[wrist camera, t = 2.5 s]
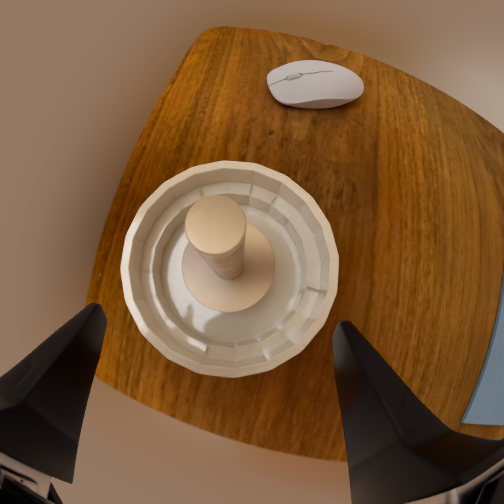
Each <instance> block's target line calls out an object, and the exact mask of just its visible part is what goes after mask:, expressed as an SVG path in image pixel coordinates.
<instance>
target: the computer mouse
mask: <svg viewBox="0 0 504 504" xmlns="http://www.w3.org/2000/svg"><path fill="white" fill-rule="evenodd" d="M267 83H268V87H269V89H270V91H271V93H272V95H273V96H274V98H275V99H276V100H277V101H279V102H280V103H282V104H285V105H289V106H293V107H299V108H332V107H337V106H340V105H343V104H346V103H348V102H351V101H353V100H355V99H357V98H358V97H360V96H361V94H362V92H363V89H364V86H363V82H362V80H361V79H360V77H359V76H357V75H356V74H355V73H353V72H352V71H350V70H348V69H347V68H344V67H342V66H339V65H336V64H333V63H329V62H323V61H316V60H303V61H297V62H292V63H289V64H286V65H283V66H281V67H278V68H276V69H274V70H273V71H271V72H270V73H269V74H268V76H267Z"/></svg>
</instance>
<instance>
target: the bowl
mask: <svg viewBox="0 0 504 504" xmlns="http://www.w3.org/2000/svg"><path fill="white" fill-rule="evenodd" d="M213 195H219V196H225V197H228V198H230V199H232V200H234V201H235V202H236V203H237V204H238V205H239V206H240V207H241V208H242V210H243V212H244V214H245V217H246V223H248V224H250V225H252V226H253V227H255V228H256V229H258V230H259V231H260V232H261V233H262V234H263V235H264V236H265V237H266V239H267V240H268V242H269V243H270V245H271V247H272V250H273V253H274V257H275V274H274V279H273V281H272V284H271V286H270V288H269V290H268V291H267V293H266V294H265V295H264V297H263V298H262V299H261V300H260V301H258V302H257V303H256V304H254V305H253V306H251V307H249V308H247V309H245V310H242V311H237V312H219V311H215V310H212V309H209V308H207V307H206V306H204V305H202V304H201V303H199V302H198V301H197V300H196V299H195V298H194V297H193V296H192V294H191V293H190V292H189V290H188V288H187V287H186V284H185V282H184V279H183V275H182V257H183V253H184V250H185V248H186V246H187V244H188V242H189V241H188V239H187V237H186V233H185V219H186V216H187V213H188V211H189V210H190V208H191V207H192V206H193V205H194V204H195V203H196V202H197V201H199V200H201V199H203V198H205V197H208V196H213ZM120 268H121V269H120V270H121V277H122V284H123V291H124V297H125V302H126V304H127V306H128V308H129V310H130V312H131V314H132V316H133V318H134V320H135V322H136V324H137V326H138V328H139V330H140V332H141V333H142V335H143V336H144V337H145V338H146V339H147V340H148V341H149V342H150V343H151V344H152V345H153V346H154V347H155V348H156V349H157V350H158V351H159V352H161V353H162V354H163V355H164V356H165V357H166V358H167V359H169V360H171V361H173V362H175V363H177V364H179V365H181V366H183V367H185V368H187V369H190V370H192V371H194V372H196V373H199V374H204V375H211V376H220V377H229V378H238V377H243V376H248V375H253V374H257V373H262V372H266V371H270V370H272V369H274V368H276V367H277V366H279V365H281V364H282V363H284V362H286V361H287V360H289V359H291V358H292V357H294V356H295V355H297V354H299V353H300V352H301V351H303V349H304V348H305V347H306V346H307V345H308V344H309V342H310V341H311V340H312V339H313V338H314V336H315V335H316V334H317V333H318V332H319V330H320V329H321V328H322V327H323V326H324V324H325V322H326V320H327V317H328V315H329V312H330V310H331V307H332V304H333V302H334V299H335V297H336V294H337V288H338V270H339V255H338V252H337V248H336V244H335V240H334V237H333V233H332V230H331V226H330V223H329V222H328V220H327V219H326V217H325V216H324V214H323V212H322V211H321V209H320V208H319V206H318V205H317V203H316V202H315V200H314V199H313V197H311V195H309V194H308V193H307V192H306V191H305V190H303V189H302V188H301V187H300V186H299V185H297V184H296V183H295V182H294V181H292V180H291V179H290V178H289V177H287V176H286V175H284V174H281V173H279V172H276V171H274V170H272V169H269V168H267V167H264V166H262V165H259V164H256V163H247V162H237V161H219V162H214V163H209V164H204V165H199V166H195V167H193V168H192V167H191V168H189V169H188V170H186V171H184V172H182V173H180V174H178V175H176V176H175V177H173V178H171V179H169V180H167V181H166V182H164V183H163V184H162V185H161V186H160V187H159V188H158V189H157V190H156V191H155V192H154V193H153V194H152V195H151V196H150V197H149V198H148V199H147V200H146V201H145V202H144V203H143V204H142V206H141V207H140V208H139V210H138V212H137V214H136V216H135V218H134V220H133V222H132V224H131V226H130V228H129V230H128V232H127V234H126V237H125V243H124V248H123V254H122V261H121V267H120Z"/></svg>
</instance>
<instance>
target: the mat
mask: <svg viewBox="0 0 504 504" xmlns="http://www.w3.org/2000/svg"><path fill="white" fill-rule="evenodd" d="M461 422H462V423H468V424H484V425H504V273H503V282H502V289H501V295H500V301H499V306H498V312H497V316H496V321H495V325H494V330H493V334H492V338H491V341H490V345H489V349H488V352H487V355H486V359H485V362H484V365H483V368H482V371H481V374H480V376H479V379H478V382H477V385H476V387H475V390H474V392H473V395H472V397H471V400H470V402H469V404H468V407H467V409H466V411H465V413H464V415H463V417H462V420H461Z"/></svg>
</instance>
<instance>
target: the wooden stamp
mask: <svg viewBox="0 0 504 504" xmlns="http://www.w3.org/2000/svg"><path fill="white" fill-rule="evenodd" d="M185 233H186V237H187V239H188V241H189V242H188V244H187V246H186V248H185V250H184V253H183V257H182V275H183V279H184V282H185V284H186V287H187V288H188V290H189V292H190V293H191V294H192V296H193V297H194V298H195V299H196V300H197V301H198V302H199V303H201V304H202V305H204V306H206V307H207V308H209V309H212V310H215V311H219V312H237V311H242V310H245V309H247V308H249V307H251V306H253V305H254V304H256V303H257V302H258V301H260V300H261V299H262V298H263V297H264V295H265V294H266V293H267V291H268V290H269V288H270V286H271V284H272V281H273V279H274V274H275V257H274V253H273V250H272V247H271V245H270V243H269V242H268V240H267V239H266V237H265V236H264V235H263V234H262V233H261V232H260V231H259V230H258V229H256V228H255V227H253V226H252V225H250V224H248V223H246V217H245V214H244V212H243V210H242V208H241V207H240V206H239V205H238V204H237V203H236V202H235V201H234V200H232V199H230V198H228V197H225V196H219V195H213V196H208V197H205V198H203V199H201V200H199V201H197V202H196V203H195V204H194V205H193V206H192V207H191V208H190V210H189V211H188V213H187V216H186V219H185Z"/></svg>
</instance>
